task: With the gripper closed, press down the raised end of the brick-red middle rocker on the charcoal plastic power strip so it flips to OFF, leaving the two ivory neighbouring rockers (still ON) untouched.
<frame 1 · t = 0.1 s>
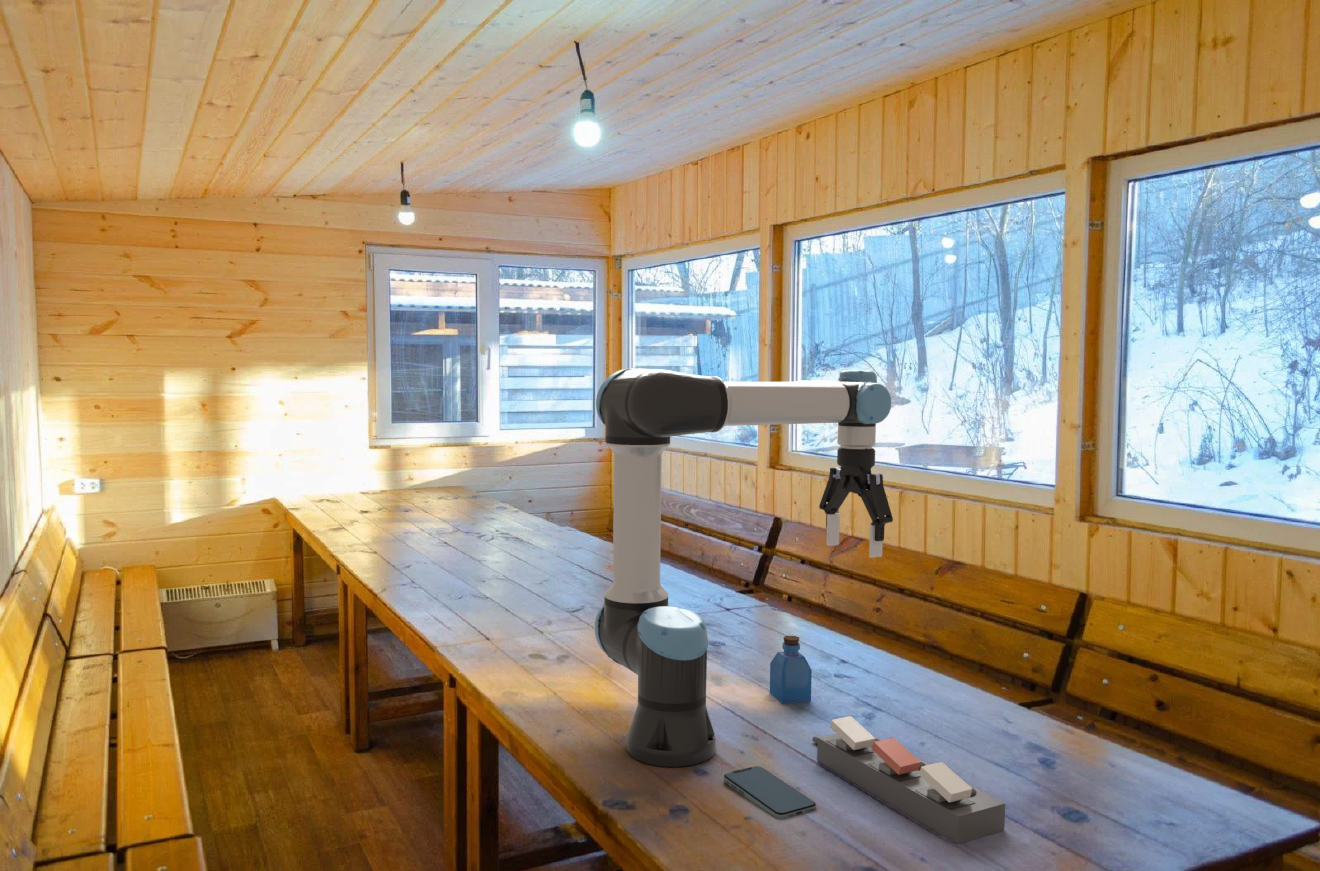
hand: (853, 550, 203), 28 cm above the table, fingers open, 13 cm apart
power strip: (903, 792, 155), on the table
perfume bottle: (790, 698, 198), on the table
rocker far: (852, 732, 163), point 6 cm above the table, hinge at -15.0°
smartphone: (768, 798, 154), on the table
rocker mid: (896, 755, 153), point 6 cm above the table, hinge at -15.0°
rocker near: (945, 781, 144), point 6 cm above the table, hinge at -15.0°
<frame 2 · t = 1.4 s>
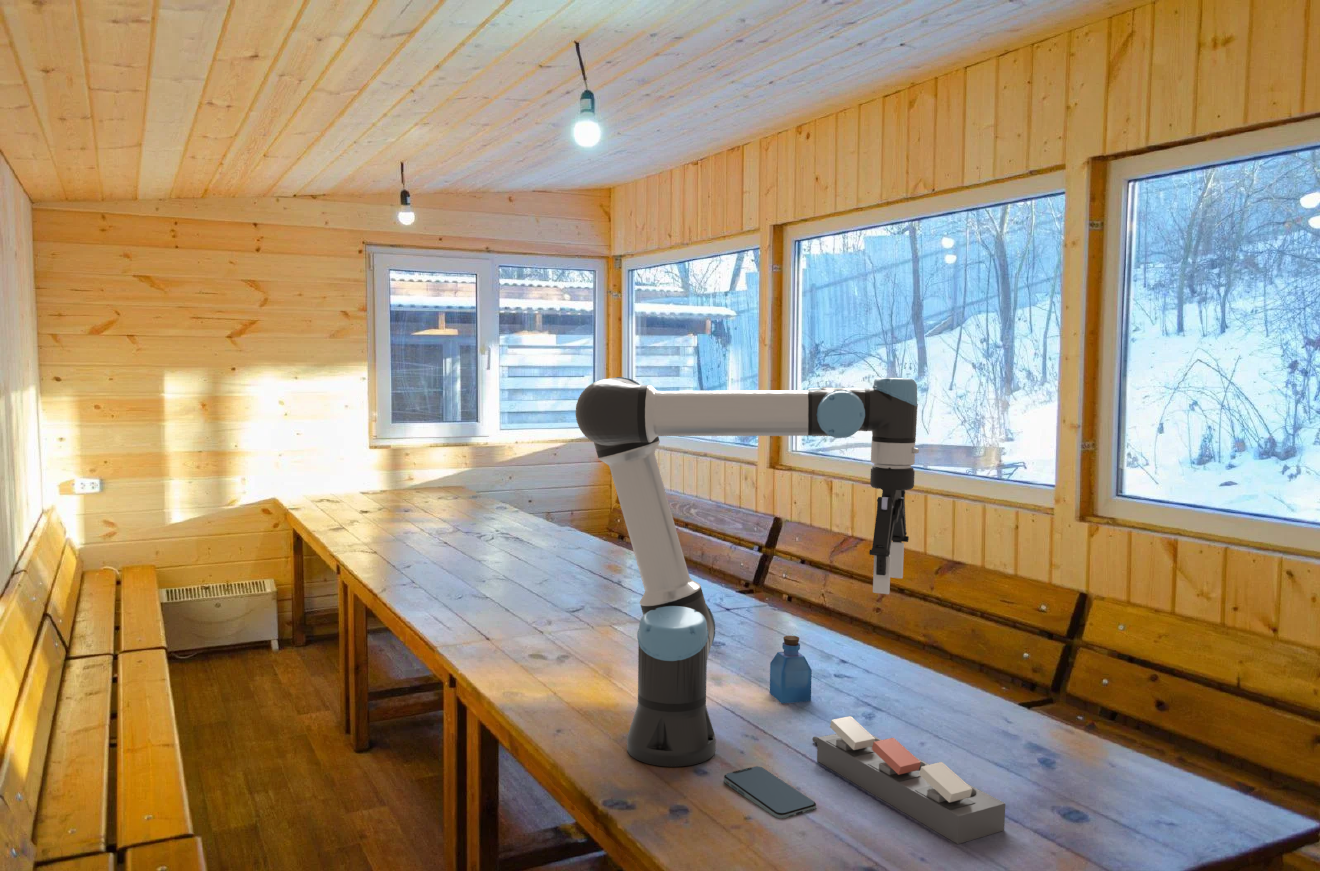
hand: (888, 585, 177), 27 cm above the table, fingers open, 13 cm apart
nothing on the table moved.
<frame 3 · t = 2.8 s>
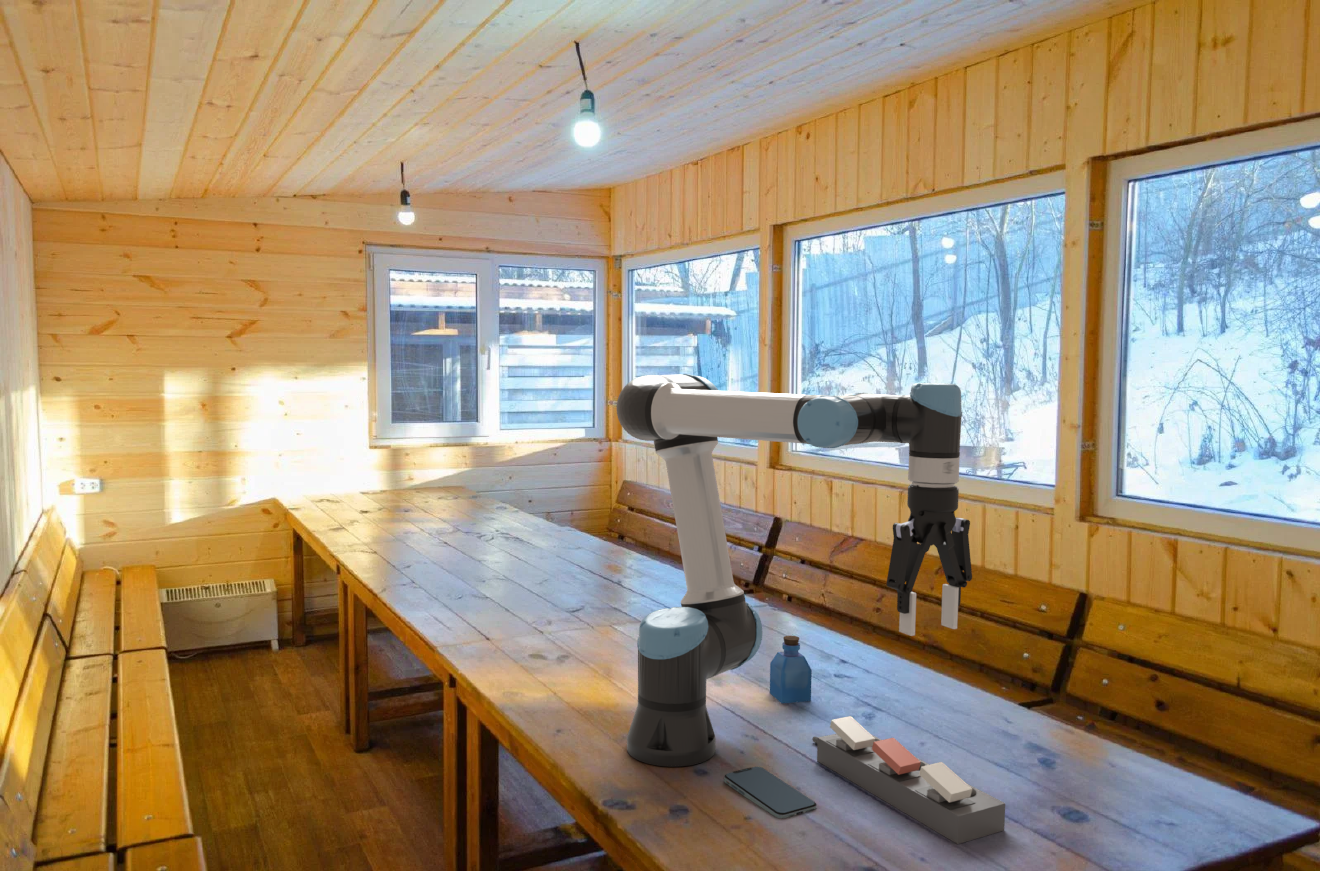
hand: (928, 629, 155), 25 cm above the table, fingers open, 8 cm apart
nothing on the table moved.
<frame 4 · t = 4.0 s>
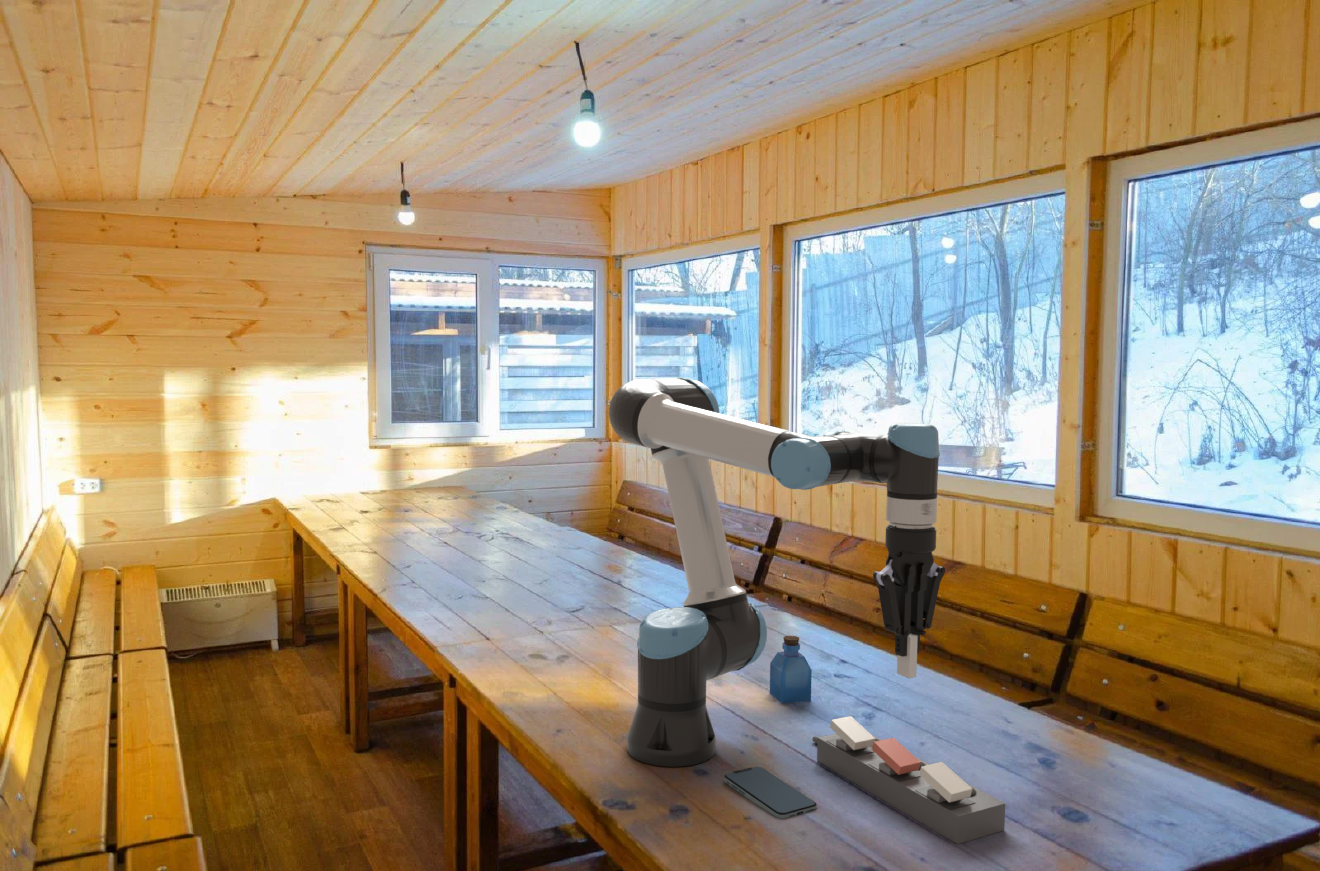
hand: (906, 675, 155), 18 cm above the table, fingers closed
nothing on the table moved.
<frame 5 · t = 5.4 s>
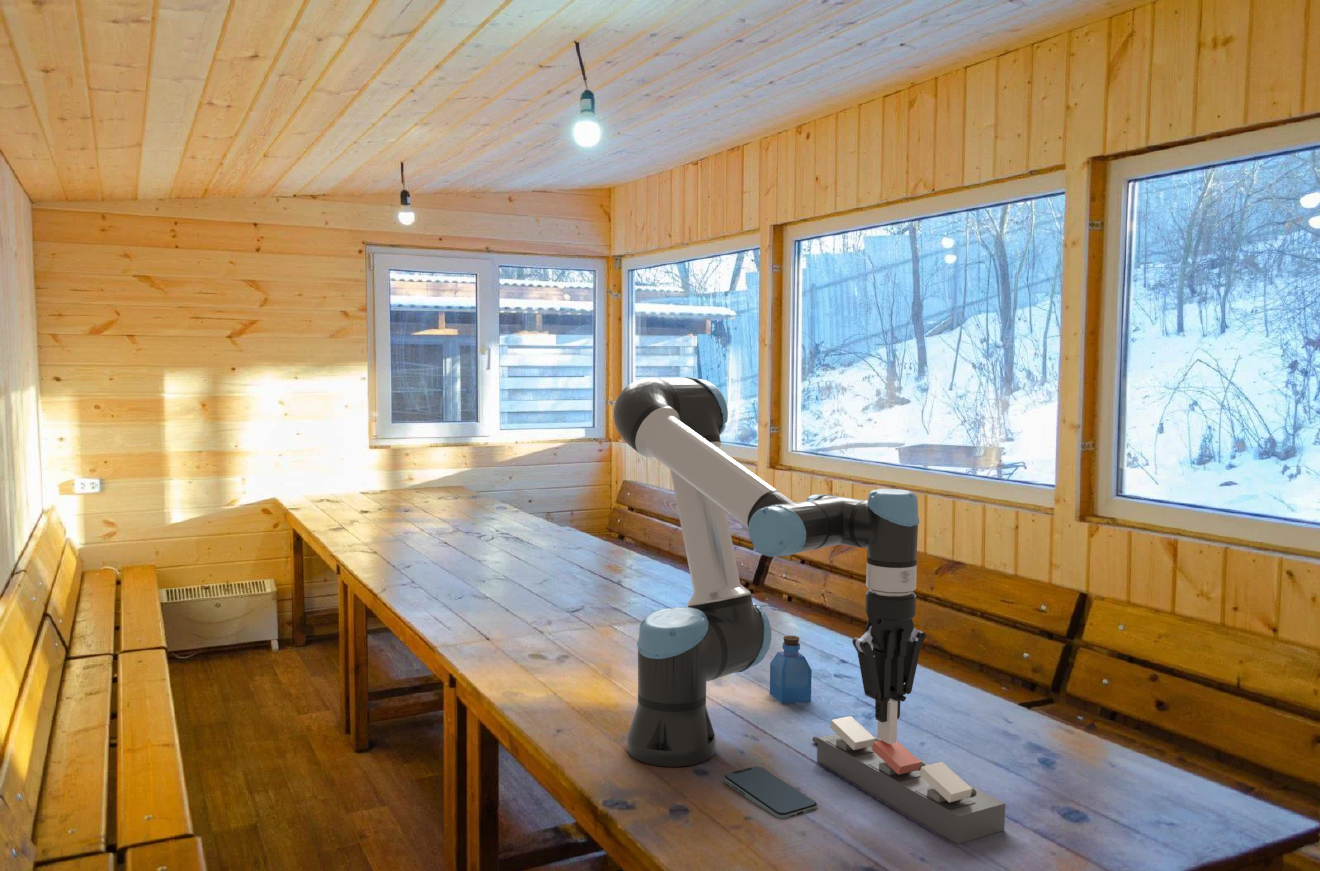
hand: (886, 740, 155), 8 cm above the table, fingers closed
rocker mid: (896, 755, 153), point 6 cm above the table, hinge at -14.8°, touching gripper
everything else where it was.
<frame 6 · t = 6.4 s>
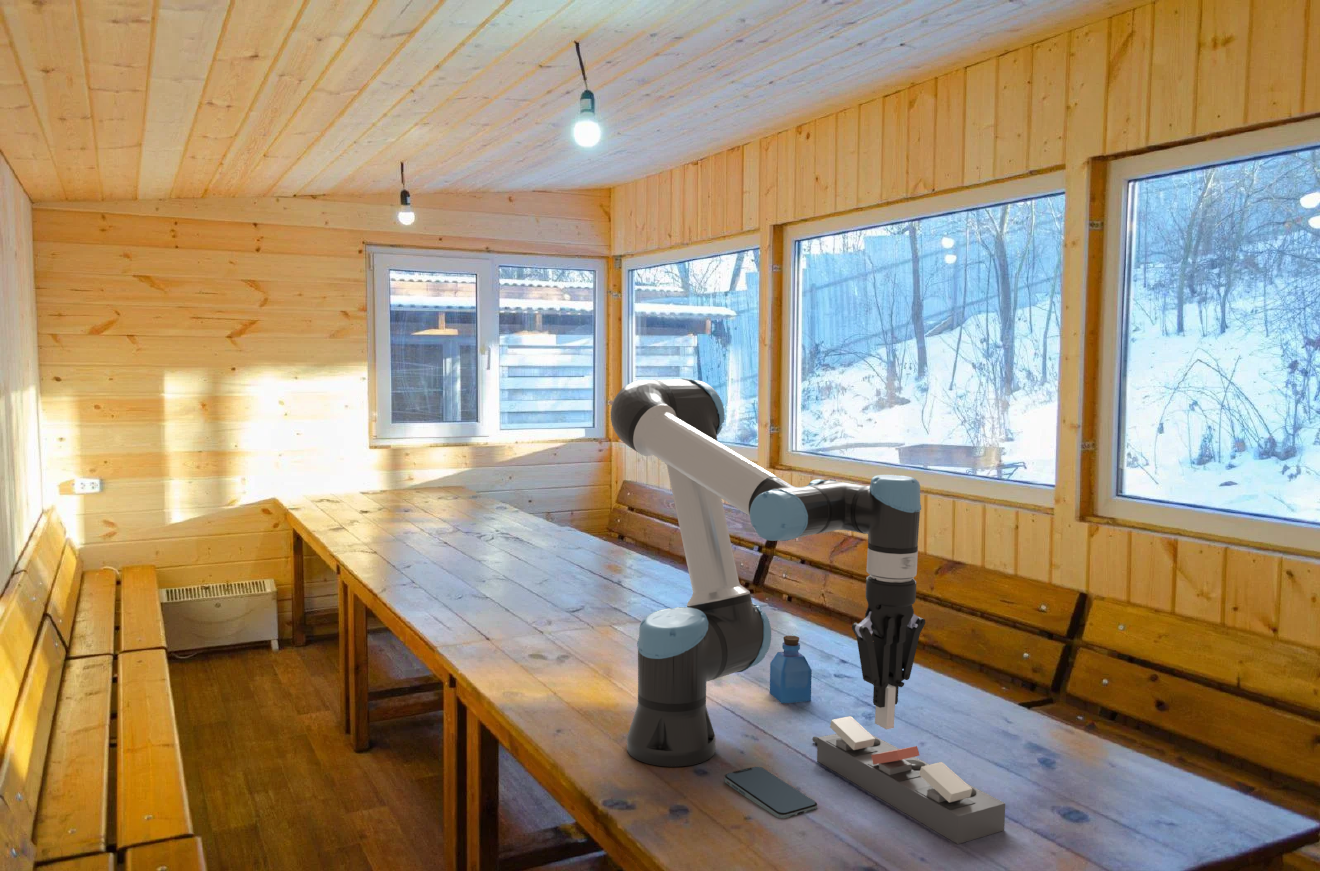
hand: (884, 725, 155), 10 cm above the table, fingers closed
rocker mid: (895, 755, 154), point 6 cm above the table, hinge at 26.1°, touching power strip
everything else where it was.
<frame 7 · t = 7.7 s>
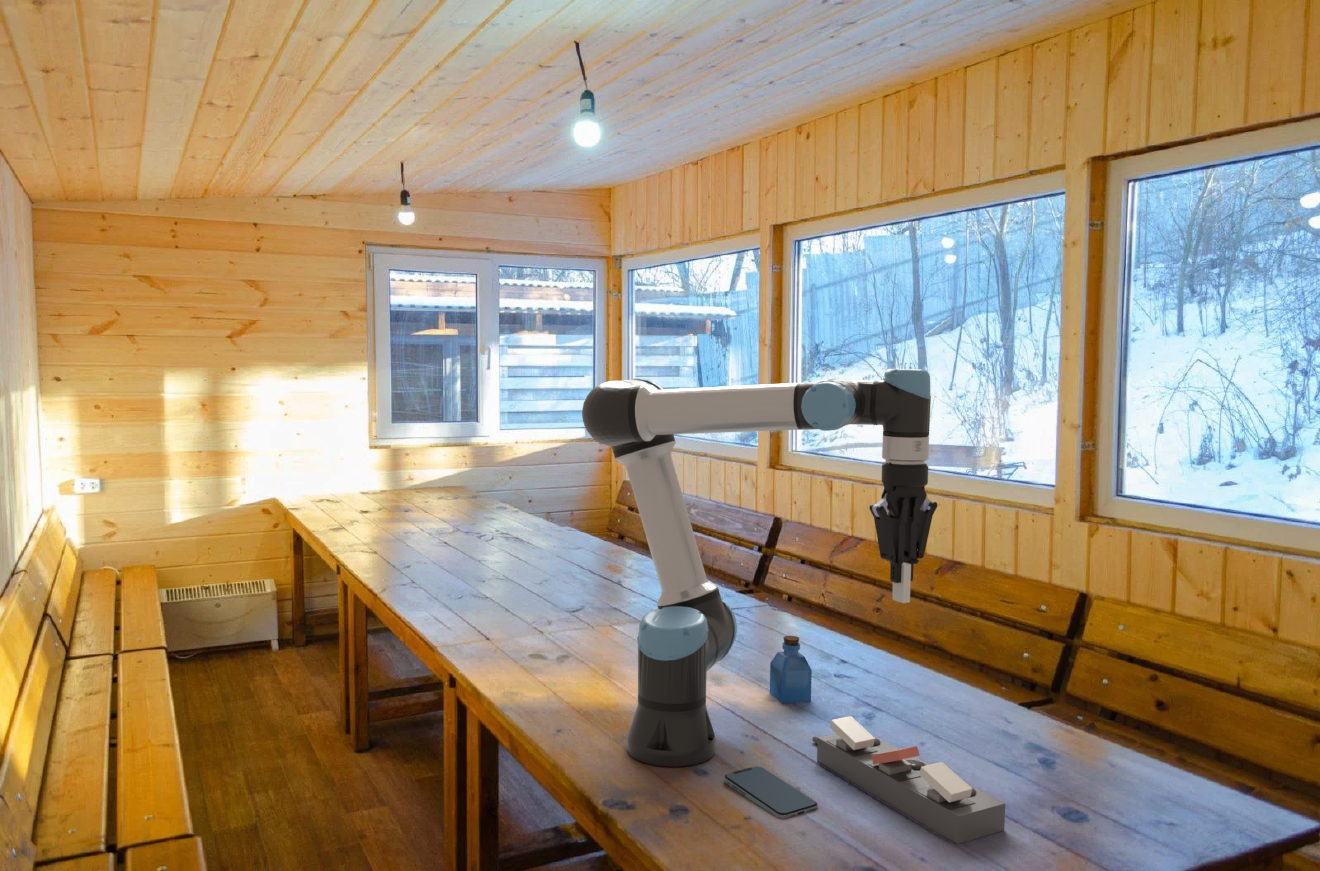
hand: (901, 600, 168), 26 cm above the table, fingers closed
nothing on the table moved.
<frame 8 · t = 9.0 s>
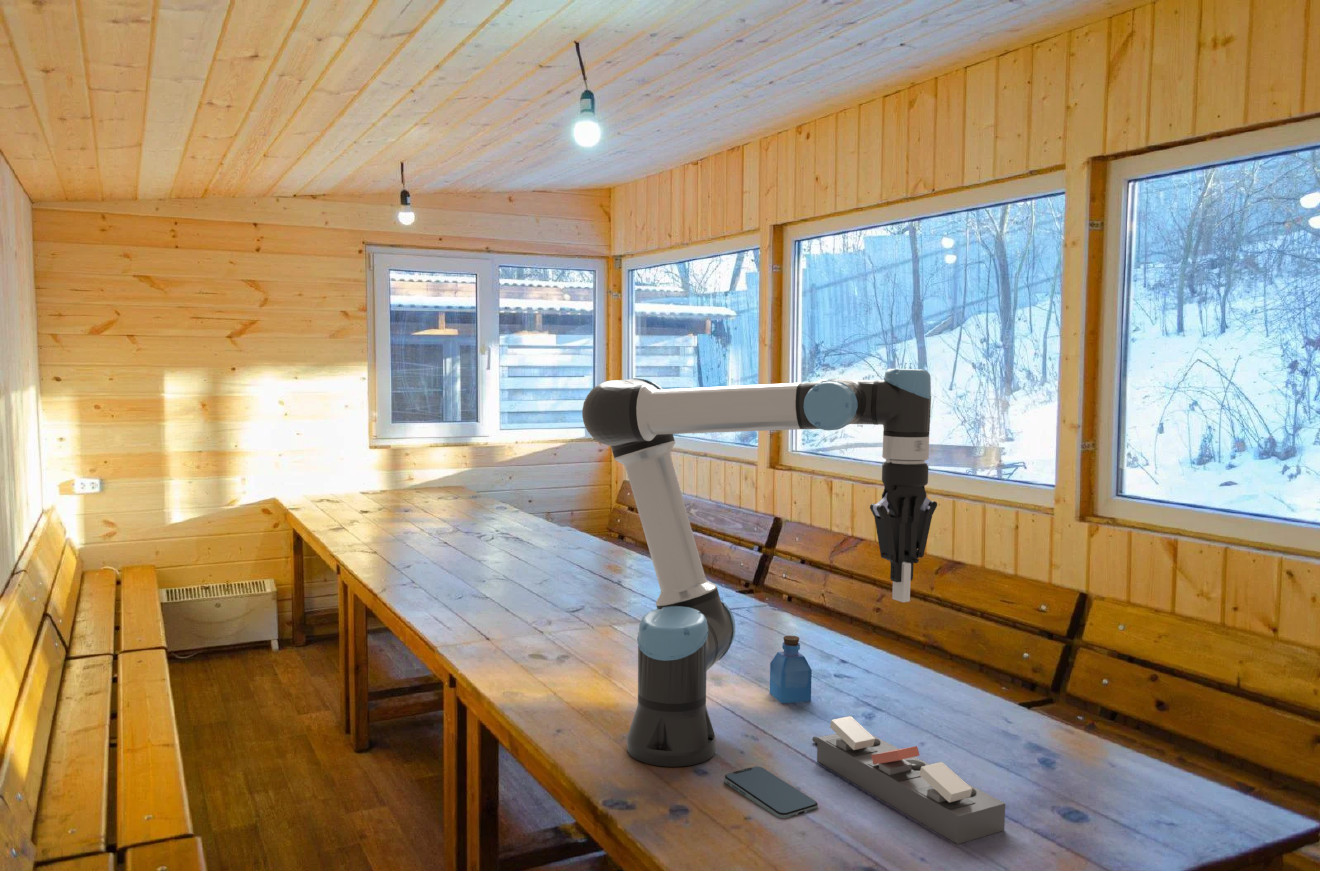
hand: (901, 600, 169), 26 cm above the table, fingers closed
nothing on the table moved.
at the end: rocker mid at +26° (first picture: -15°); rocker near at -15° (first picture: -15°); rocker far at -15° (first picture: -15°) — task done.
